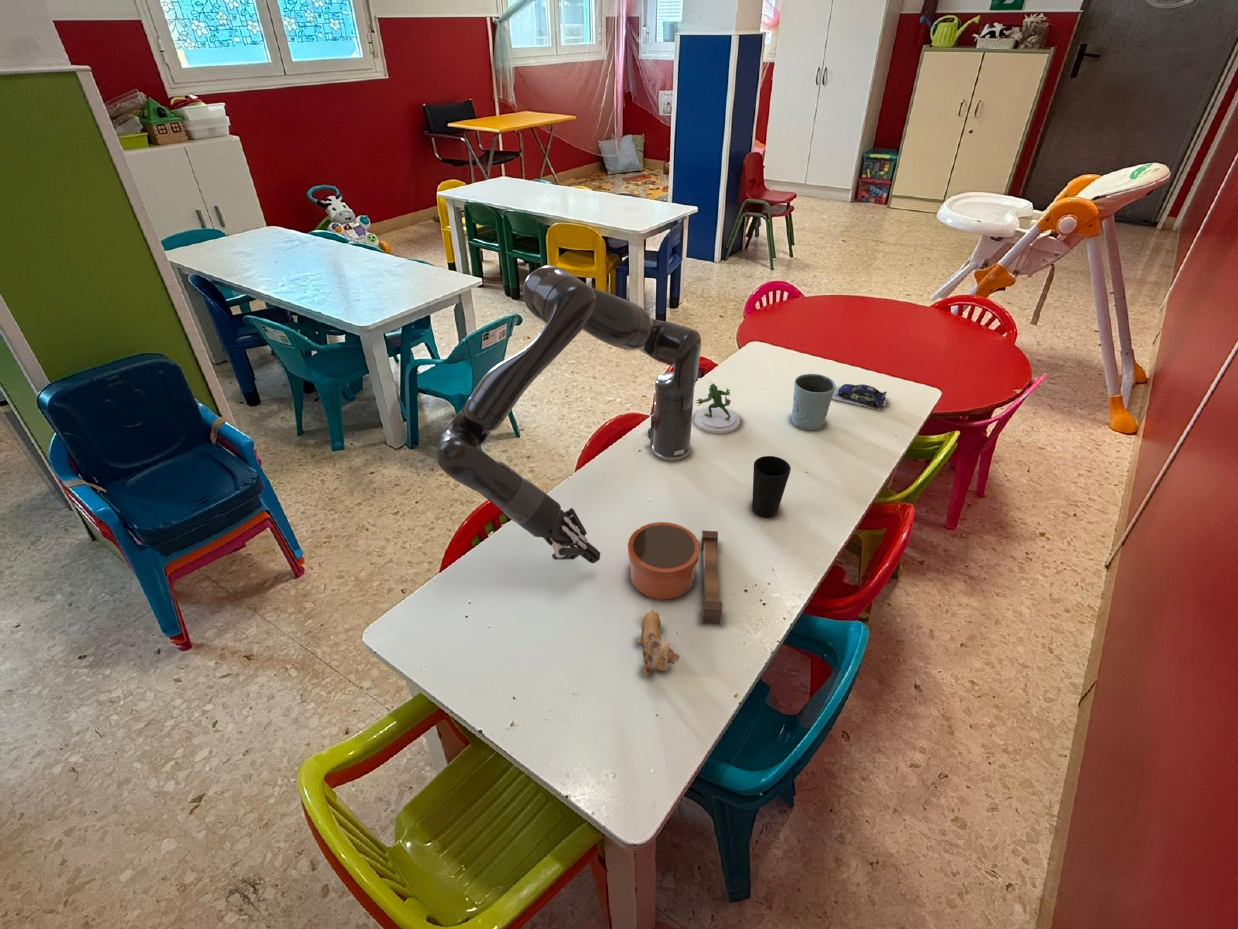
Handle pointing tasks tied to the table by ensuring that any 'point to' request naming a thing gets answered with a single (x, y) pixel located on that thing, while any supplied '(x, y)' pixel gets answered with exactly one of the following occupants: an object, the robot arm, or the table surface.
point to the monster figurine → (716, 413)
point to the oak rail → (710, 578)
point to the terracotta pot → (663, 559)
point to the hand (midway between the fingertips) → (597, 558)
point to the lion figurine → (655, 645)
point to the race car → (860, 396)
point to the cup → (769, 485)
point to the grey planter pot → (811, 401)
